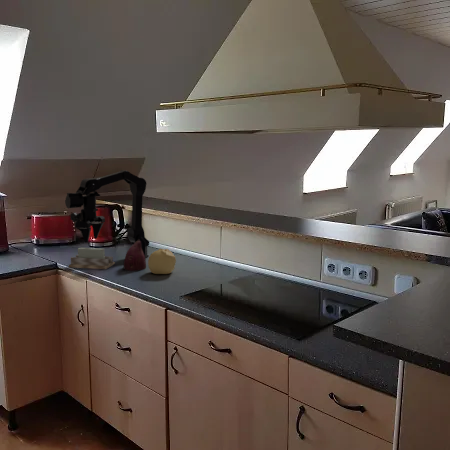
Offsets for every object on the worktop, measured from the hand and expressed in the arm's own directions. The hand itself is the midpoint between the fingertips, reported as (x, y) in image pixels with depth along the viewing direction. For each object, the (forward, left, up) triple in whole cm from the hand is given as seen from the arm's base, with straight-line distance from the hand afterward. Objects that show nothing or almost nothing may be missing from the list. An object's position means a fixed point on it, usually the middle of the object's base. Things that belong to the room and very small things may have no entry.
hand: (91, 240), depth 222 cm
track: (0, 0, -12) cm, 12 cm away
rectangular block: (0, 0, -11) cm, 11 cm away
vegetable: (-21, 0, -12) cm, 24 cm away
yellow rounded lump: (-36, +6, -12) cm, 38 cm away
